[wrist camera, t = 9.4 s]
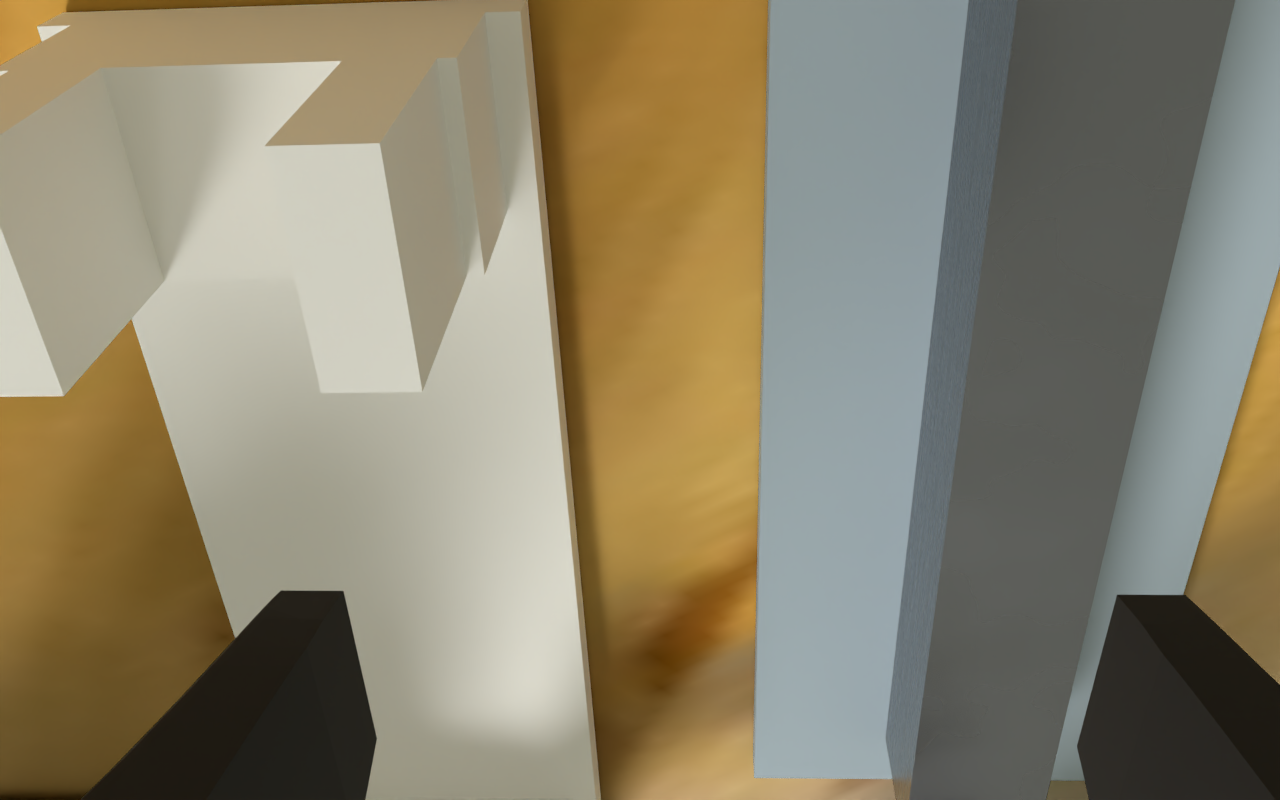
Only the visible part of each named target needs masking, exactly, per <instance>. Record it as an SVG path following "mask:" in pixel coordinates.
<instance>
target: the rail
mask: <svg viewBox="0 0 1280 800" xmlns="http://www.w3.org/2000/svg"><path fill="white" fill-rule="evenodd" d="M1234 4H1235V0H969V3H968V12H967V20H966V29H965V38H964V47H963V56H962V65H961V74H960V82H959V91H958V100H957V109H956V118H955V127H954V136H953V144H952V153H951V162H950V171H949V180H948V189H947V197H946V206H945V215H944V224H943V233H942V242H941V251H940V259H939V268H938V277H937V286H936V295H935V304H934V312H933V321H932V330H931V339H930V348H929V357H928V366H927V374H926V383H925V392H924V401H923V410H922V419H921V427H920V436H919V445H918V454H917V463H916V472H915V481H914V489H913V498H912V507H911V516H910V525H909V534H908V543H907V551H906V560H905V569H904V578H903V587H902V596H901V604H900V613H899V622H898V631H897V640H896V649H895V658H894V666H893V675H892V684H891V693H890V702H889V711H888V719H887V728H886V737H885V739H886V745H887V751H888V756H889V762H890V768H891V774H892V779H893V785H894V791H895V796H896V800H1046V797H1047V793H1048V789H1049V785H1050V780H1051V776H1052V772H1053V768H1054V764H1055V759H1056V755H1057V751H1058V747H1059V742H1060V738H1061V734H1062V730H1063V726H1064V721H1065V717H1066V713H1067V709H1068V704H1069V700H1070V696H1071V692H1072V688H1073V683H1074V679H1075V675H1076V671H1077V666H1078V662H1079V658H1080V654H1081V650H1082V645H1083V641H1084V637H1085V633H1086V628H1087V624H1088V620H1089V616H1090V612H1091V607H1092V603H1093V599H1094V595H1095V590H1096V586H1097V582H1098V578H1099V574H1100V569H1101V565H1102V561H1103V557H1104V552H1105V548H1106V544H1107V540H1108V536H1109V531H1110V527H1111V523H1112V519H1113V514H1114V510H1115V506H1116V502H1117V498H1118V493H1119V489H1120V485H1121V481H1122V477H1123V472H1124V468H1125V464H1126V460H1127V455H1128V451H1129V447H1130V443H1131V439H1132V434H1133V430H1134V426H1135V422H1136V417H1137V413H1138V409H1139V405H1140V401H1141V396H1142V392H1143V388H1144V384H1145V379H1146V375H1147V371H1148V367H1149V363H1150V358H1151V354H1152V350H1153V346H1154V341H1155V337H1156V333H1157V329H1158V325H1159V320H1160V316H1161V312H1162V308H1163V303H1164V299H1165V295H1166V291H1167V287H1168V282H1169V278H1170V274H1171V270H1172V265H1173V261H1174V257H1175V253H1176V249H1177V244H1178V240H1179V236H1180V232H1181V227H1182V223H1183V219H1184V215H1185V211H1186V206H1187V202H1188V198H1189V194H1190V189H1191V185H1192V181H1193V177H1194V173H1195V168H1196V164H1197V160H1198V156H1199V151H1200V147H1201V143H1202V139H1203V135H1204V130H1205V126H1206V122H1207V118H1208V113H1209V109H1210V105H1211V101H1212V97H1213V92H1214V88H1215V84H1216V80H1217V75H1218V71H1219V67H1220V63H1221V59H1222V54H1223V50H1224V46H1225V42H1226V38H1227V33H1228V29H1229V25H1230V21H1231V16H1232V12H1233V8H1234Z"/></svg>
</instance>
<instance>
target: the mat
mask: <svg viewBox="0 0 1280 800" xmlns="http://www.w3.org/2000/svg"><path fill="white" fill-rule="evenodd" d="M968 3H969V0H768V36H767V86H766V136H765V186H764V236H763V286H762V337H761V387H760V437H759V487H758V537H757V587H756V637H755V688H754V738H753V763H754V778H826V779H892V774H891V768H890V762H889V756H888V751H887V745H886V739H885V737H886V728H887V719H888V711H889V702H890V693H891V684H892V675H893V666H894V658H895V649H896V640H897V631H898V622H899V613H900V604H901V596H902V587H903V578H904V569H905V560H906V551H907V543H908V534H909V525H910V516H911V507H912V498H913V489H914V481H915V472H916V463H917V454H918V445H919V436H920V427H921V419H922V410H923V401H924V392H925V383H926V374H927V366H928V357H929V348H930V339H931V330H932V321H933V312H934V304H935V295H936V286H937V277H938V268H939V259H940V251H941V242H942V233H943V224H944V215H945V206H946V197H947V189H948V180H949V171H950V162H951V153H952V144H953V136H954V127H955V118H956V109H957V100H958V91H959V82H960V74H961V65H962V56H963V47H964V38H965V29H966V20H967V12H968ZM1279 267H1280V0H1235V4H1234V8H1233V12H1232V16H1231V21H1230V25H1229V29H1228V33H1227V38H1226V42H1225V46H1224V50H1223V54H1222V59H1221V63H1220V67H1219V71H1218V75H1217V80H1216V84H1215V88H1214V92H1213V97H1212V101H1211V105H1210V109H1209V113H1208V118H1207V122H1206V126H1205V130H1204V135H1203V139H1202V143H1201V147H1200V151H1199V156H1198V160H1197V164H1196V168H1195V173H1194V177H1193V181H1192V185H1191V189H1190V194H1189V198H1188V202H1187V206H1186V211H1185V215H1184V219H1183V223H1182V227H1181V232H1180V236H1179V240H1178V244H1177V249H1176V253H1175V257H1174V261H1173V265H1172V270H1171V274H1170V278H1169V282H1168V287H1167V291H1166V295H1165V299H1164V303H1163V308H1162V312H1161V316H1160V320H1159V325H1158V329H1157V333H1156V337H1155V341H1154V346H1153V350H1152V354H1151V358H1150V363H1149V367H1148V371H1147V375H1146V379H1145V384H1144V388H1143V392H1142V396H1141V401H1140V405H1139V409H1138V413H1137V417H1136V422H1135V426H1134V430H1133V434H1132V439H1131V443H1130V447H1129V451H1128V455H1127V460H1126V464H1125V468H1124V472H1123V477H1122V481H1121V485H1120V489H1119V493H1118V498H1117V502H1116V506H1115V510H1114V514H1113V519H1112V523H1111V527H1110V531H1109V536H1108V540H1107V544H1106V548H1105V552H1104V557H1103V561H1102V565H1101V569H1100V574H1099V578H1098V582H1097V586H1096V590H1095V595H1094V599H1093V603H1092V607H1091V612H1090V616H1089V620H1088V624H1087V628H1086V633H1085V637H1084V641H1083V645H1082V650H1081V654H1080V658H1079V662H1078V666H1077V671H1076V675H1075V679H1074V683H1073V688H1072V692H1071V696H1070V700H1069V704H1068V709H1067V713H1066V717H1065V721H1064V726H1063V730H1062V734H1061V738H1060V742H1059V747H1058V751H1057V755H1056V759H1055V764H1054V768H1053V772H1052V776H1051V780H1061V781H1085V780H1084V775H1083V771H1082V767H1081V762H1080V758H1079V754H1078V749H1077V744H1078V740H1079V736H1080V733H1081V729H1082V725H1083V721H1084V718H1085V714H1086V710H1087V706H1088V702H1089V699H1090V695H1091V691H1092V687H1093V684H1094V680H1095V676H1096V672H1097V668H1098V665H1099V661H1100V657H1101V653H1102V649H1103V646H1104V642H1105V638H1106V634H1107V631H1108V627H1109V623H1110V619H1111V615H1112V612H1113V608H1114V604H1115V600H1116V597H1117V595H1183V594H1184V590H1185V587H1186V584H1187V580H1188V577H1189V573H1190V570H1191V567H1192V563H1193V560H1194V556H1195V553H1196V550H1197V546H1198V543H1199V539H1200V536H1201V533H1202V529H1203V526H1204V522H1205V519H1206V516H1207V512H1208V509H1209V505H1210V502H1211V499H1212V495H1213V492H1214V488H1215V485H1216V482H1217V478H1218V475H1219V471H1220V468H1221V465H1222V461H1223V458H1224V454H1225V451H1226V448H1227V444H1228V441H1229V437H1230V434H1231V431H1232V427H1233V424H1234V420H1235V417H1236V414H1237V410H1238V407H1239V403H1240V400H1241V397H1242V393H1243V390H1244V386H1245V383H1246V380H1247V376H1248V373H1249V369H1250V366H1251V363H1252V359H1253V356H1254V352H1255V349H1256V346H1257V342H1258V339H1259V335H1260V332H1261V329H1262V325H1263V322H1264V318H1265V315H1266V312H1267V308H1268V305H1269V301H1270V298H1271V295H1272V291H1273V288H1274V284H1275V281H1276V278H1277V274H1278V271H1279Z"/></svg>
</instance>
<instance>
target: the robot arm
mask: <svg viewBox="0 0 1280 800" xmlns="http://www.w3.org/2000/svg"><path fill="white" fill-rule="evenodd" d="M376 741H377V737H376V732H375V728H374V723H373V719H372V715H371V710H370V706H369V701H368V697H367V693H366V688H365V684H364V679H363V675H362V670H361V666H360V662H359V657H358V653H357V648H356V644H355V639H354V635H353V631H352V626H351V622H350V617H349V613H348V609H347V604H346V600H345V595H344V591H284V590H281V591H280V592H279V593H278V594H277V595H276V596H275V597H274V598H272V599H271V600H270V602H269V603H268V604H267V605H266V606H265V607H264V608H263V609H262V610H261V611H260V612H259V613H258V614H257V615H256V616H255V617H254V619H253V620H252V621H251V622H250V623H249V624H248V625H247V626H246V627H245V628H244V629H243V630H242V632H241V633H240V634H239V635H238V636H237V637H236V638H235V639H234V640H233V641H232V642H231V644H230V645H229V646H228V647H227V648H226V649H225V650H224V651H223V652H222V653H221V654H220V656H219V657H218V658H217V659H216V660H215V661H214V662H213V663H212V664H211V665H210V666H209V668H208V669H207V670H206V671H205V672H204V673H203V674H202V675H201V676H200V677H199V678H198V679H197V680H196V682H195V683H194V684H193V685H192V686H191V687H190V688H189V689H188V690H187V691H186V692H185V693H184V694H183V695H182V697H181V698H180V699H179V700H178V701H177V702H176V703H175V704H174V705H173V706H172V707H171V708H170V709H169V710H168V711H167V712H166V713H165V714H164V715H163V716H162V718H161V719H160V720H159V721H158V722H157V723H156V724H155V725H154V726H153V727H152V728H151V729H150V730H149V731H148V732H147V733H146V734H145V735H144V736H143V737H142V738H141V739H140V740H139V741H138V742H137V743H136V744H135V745H134V746H133V748H132V749H131V750H130V751H129V752H128V753H127V754H126V755H125V756H124V757H123V758H122V759H121V760H120V761H119V762H118V763H117V764H116V765H115V766H114V767H113V768H112V769H111V770H110V771H109V772H108V773H107V774H106V775H105V776H104V777H103V778H102V779H101V780H100V781H99V782H98V783H97V784H96V785H95V786H94V787H93V788H92V789H91V790H90V791H89V792H88V793H87V794H85V795H84V796H83V797H82V798H81V799H80V800H365V799H366V794H367V789H368V783H369V778H370V773H371V767H372V762H373V757H374V751H375V746H376ZM1077 749H1078V754H1079V758H1080V762H1081V767H1082V771H1083V775H1084V780H1085V784H1086V788H1087V793H1088V797H1089V800H1280V685H1279V684H1278V683H1277V682H1276V681H1275V680H1274V679H1273V678H1272V677H1271V676H1270V675H1269V674H1268V673H1267V672H1266V671H1265V670H1263V669H1262V668H1261V667H1260V666H1259V665H1258V664H1257V663H1256V662H1255V661H1254V660H1253V659H1252V658H1251V657H1250V656H1249V655H1248V654H1247V653H1246V652H1245V651H1244V650H1243V649H1242V648H1241V647H1240V646H1239V645H1238V644H1237V643H1235V642H1234V641H1233V640H1232V639H1231V638H1230V637H1229V636H1228V635H1227V634H1226V633H1225V632H1224V631H1223V630H1222V629H1221V628H1220V627H1219V626H1218V625H1217V624H1216V623H1215V622H1214V621H1213V620H1211V619H1210V618H1209V617H1208V616H1207V615H1206V614H1205V613H1204V612H1203V611H1202V610H1201V609H1200V608H1199V607H1198V606H1197V605H1195V604H1194V603H1193V602H1192V601H1191V600H1190V599H1189V598H1188V597H1187V596H1186V595H1117V597H1116V600H1115V604H1114V608H1113V612H1112V615H1111V619H1110V623H1109V627H1108V631H1107V634H1106V638H1105V642H1104V646H1103V649H1102V653H1101V657H1100V661H1099V665H1098V668H1097V672H1096V676H1095V680H1094V684H1093V687H1092V691H1091V695H1090V699H1089V702H1088V706H1087V710H1086V714H1085V718H1084V721H1083V725H1082V729H1081V733H1080V736H1079V740H1078V744H1077Z"/></svg>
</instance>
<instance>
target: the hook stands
mask: <svg viewBox="0 0 1280 800" xmlns="http://www.w3.org/2000/svg"><path fill="white" fill-rule="evenodd" d="M37 28H38V31H39V34H40V38H41V41H42V42H41V43H39V44H37V45H35V46H34V47H32V48H30V49H28V50H27V51H25V52H23V53H21V54H19V55H18V56H16V57H14V58H12V59H11V60H9V61H7V62H5V63H4V64H2V65H0V397H31V396H65V394H66V393H67V392H68V391H69V390H70V389H71V388H72V386H73V385H74V384H75V383H76V382H77V381H78V380H79V378H80V377H81V376H82V375H83V374H84V373H85V372H86V370H87V369H88V368H89V367H90V366H91V365H92V364H93V362H94V361H95V360H96V359H97V358H98V357H99V356H100V354H101V353H102V352H103V351H104V350H105V349H106V347H107V346H108V345H109V344H110V343H111V342H112V341H113V339H114V338H115V337H116V336H117V335H118V334H119V333H120V331H121V330H122V329H123V328H124V327H125V326H126V325H127V323H128V322H129V321H130V320H131V319H132V322H133V325H134V328H135V331H136V334H137V337H138V340H139V343H140V346H141V349H142V352H143V356H144V359H145V362H146V365H147V368H148V371H149V374H150V377H151V380H152V383H153V386H154V389H155V393H156V396H157V399H158V402H159V405H160V408H161V411H162V414H163V417H164V420H165V423H166V427H167V430H168V433H169V436H170V439H171V442H172V445H173V448H174V451H175V454H176V457H177V460H178V464H179V467H180V470H181V473H182V476H183V479H184V482H185V485H186V488H187V491H188V494H189V498H190V501H191V504H192V507H193V510H194V513H195V516H196V519H197V522H198V525H199V528H200V531H201V535H202V538H203V541H204V544H205V547H206V550H207V553H208V556H209V559H210V562H211V565H212V569H213V572H214V575H215V578H216V581H217V584H218V587H219V590H220V593H221V596H222V599H223V603H224V606H225V609H226V612H227V615H228V618H229V621H230V624H231V627H232V630H233V633H234V636H235V638H236V637H237V636H238V635H239V634H240V633H241V632H242V630H243V629H244V628H245V627H246V626H247V625H248V624H249V623H250V622H251V621H252V620H253V619H254V617H255V616H256V615H257V614H258V613H259V612H260V611H261V610H262V609H263V608H264V607H265V606H266V605H267V604H268V603H269V602H270V600H271V599H272V598H274V597H275V596H276V595H277V594H278V593H279V592H280V591H281V590H284V591H344V595H345V600H346V604H347V609H348V613H349V617H350V622H351V626H352V631H353V635H354V639H355V644H356V648H357V653H358V657H359V662H360V666H361V670H362V675H363V679H364V684H365V688H366V693H367V697H368V701H369V706H370V710H371V715H372V719H373V723H374V728H375V732H376V737H377V741H376V746H375V751H374V757H373V762H372V767H371V773H370V778H369V783H368V789H367V794H366V799H365V800H601V792H600V782H599V771H598V760H597V749H596V738H595V727H594V716H593V705H592V694H591V683H590V673H589V662H588V651H587V640H586V629H585V618H584V607H583V596H582V585H581V575H580V564H579V553H578V542H577V531H576V520H575V509H574V498H573V487H572V477H571V466H570V455H569V444H568V433H567V422H566V411H565V400H564V389H563V378H562V368H561V357H560V346H559V335H558V324H557V313H556V302H555V291H554V280H553V270H552V259H551V248H550V237H549V226H548V215H547V204H546V193H545V182H544V172H543V161H542V150H541V139H540V128H539V117H538V106H537V95H536V84H535V73H534V63H533V52H532V41H531V30H530V19H529V8H528V0H434V1H403V2H372V3H340V4H309V5H278V6H247V7H216V8H184V9H153V10H122V11H91V12H63V13H61V14H59V15H57V16H56V17H54V18H52V19H50V20H48V21H46V22H44V23H43V24H41V25H39V26H37Z"/></svg>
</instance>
